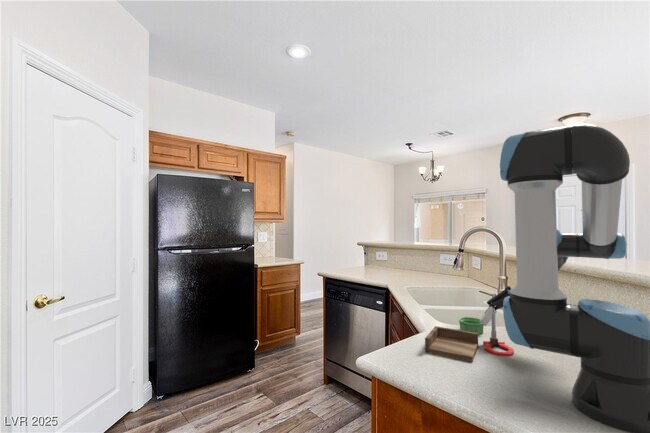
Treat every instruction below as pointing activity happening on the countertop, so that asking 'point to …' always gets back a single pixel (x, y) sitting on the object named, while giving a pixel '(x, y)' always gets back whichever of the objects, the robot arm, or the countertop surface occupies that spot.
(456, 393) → the countertop surface
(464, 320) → the ramekin
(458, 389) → the countertop surface
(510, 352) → the tow hook
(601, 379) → the robot arm
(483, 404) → the countertop surface
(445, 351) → the wooden tray
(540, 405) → the countertop surface
